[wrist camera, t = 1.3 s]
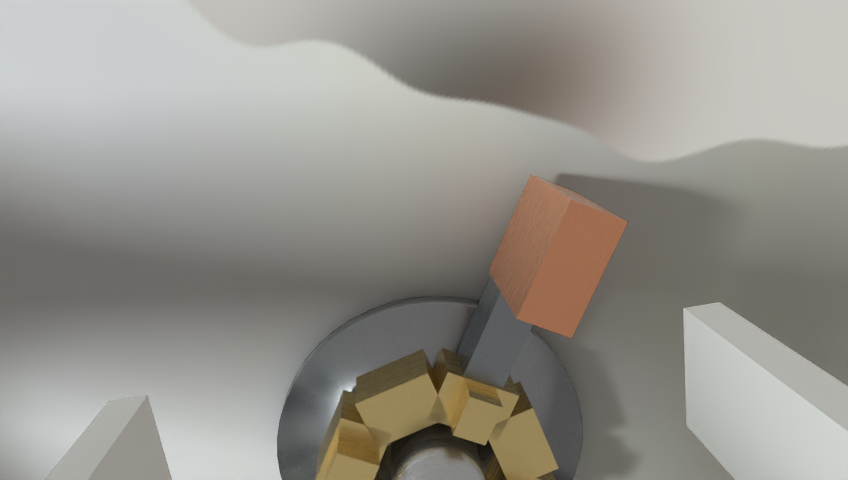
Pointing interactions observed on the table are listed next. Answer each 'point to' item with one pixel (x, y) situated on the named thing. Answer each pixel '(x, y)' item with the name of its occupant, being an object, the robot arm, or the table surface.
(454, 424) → the tan and copper piece
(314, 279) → the table surface
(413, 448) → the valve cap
